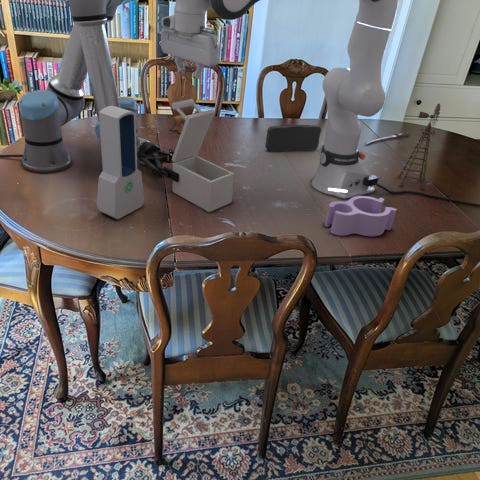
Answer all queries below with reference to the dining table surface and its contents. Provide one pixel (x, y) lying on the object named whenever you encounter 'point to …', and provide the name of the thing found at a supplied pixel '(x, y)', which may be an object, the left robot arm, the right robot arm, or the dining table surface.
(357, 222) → the clip
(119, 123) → the electronic device
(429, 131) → the miniature windmill
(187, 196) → the chest
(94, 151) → the dining table surface
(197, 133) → the lid
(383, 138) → the sword
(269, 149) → the handheld gaming console
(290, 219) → the dining table surface
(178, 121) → the lion figurine
